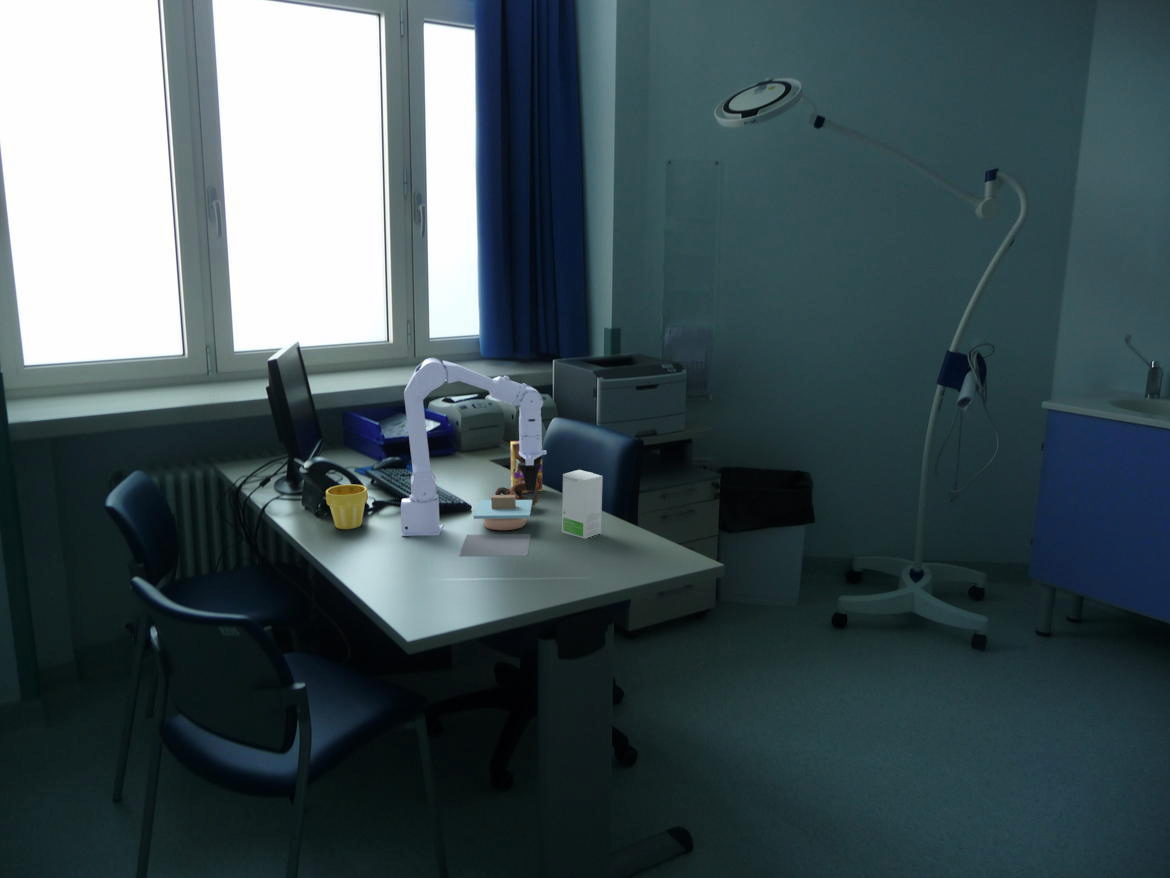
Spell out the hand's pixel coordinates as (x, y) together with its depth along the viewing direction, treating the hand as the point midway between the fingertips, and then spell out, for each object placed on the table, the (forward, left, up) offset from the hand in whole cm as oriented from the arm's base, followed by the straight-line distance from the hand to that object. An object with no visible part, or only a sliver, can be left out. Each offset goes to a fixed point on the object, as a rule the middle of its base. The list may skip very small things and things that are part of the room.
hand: (531, 486), depth 236 cm
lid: (-7, -2, -6) cm, 9 cm away
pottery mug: (-5, +15, -11) cm, 19 cm away
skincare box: (+13, -8, -11) cm, 19 cm away
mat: (-8, -17, -10) cm, 21 cm away
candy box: (-3, +32, -11) cm, 34 cm away
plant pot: (-48, +1, -11) cm, 49 cm away
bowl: (-7, -2, -10) cm, 13 cm away
